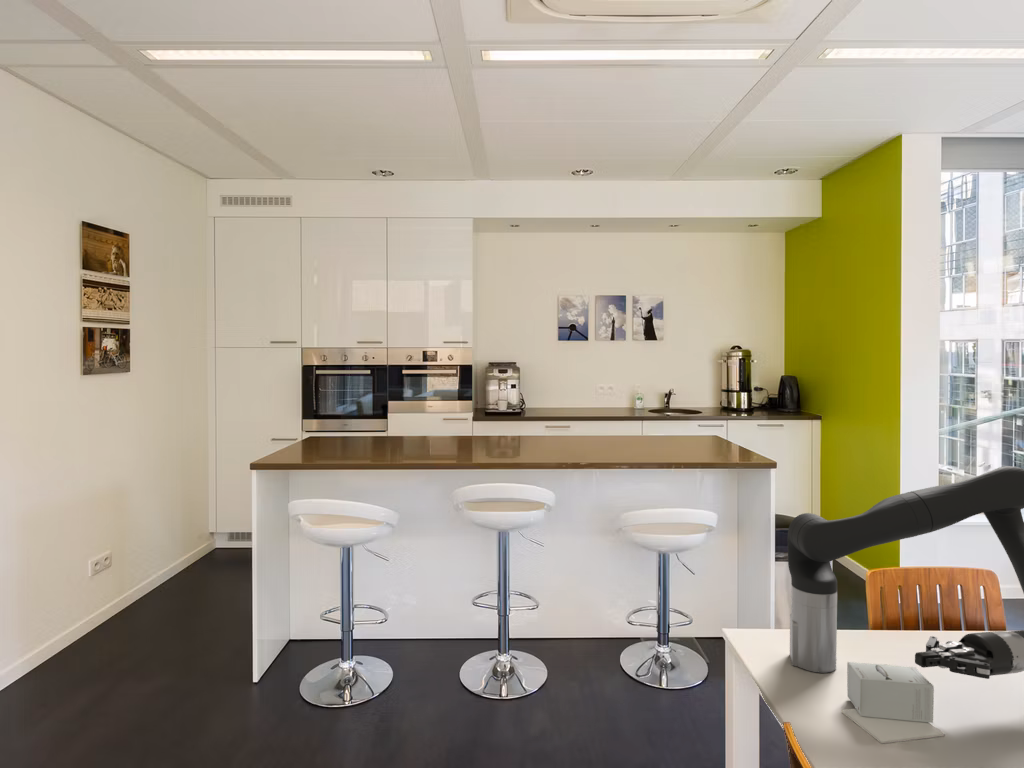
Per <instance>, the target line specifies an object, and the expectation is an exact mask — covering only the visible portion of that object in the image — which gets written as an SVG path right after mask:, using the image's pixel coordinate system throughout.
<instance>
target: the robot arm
mask: <svg viewBox="0 0 1024 768" xmlns="http://www.w3.org/2000/svg"><path fill="white" fill-rule="evenodd" d="M1023 509H1024V468H1023V467H1019V466H1012V465H1007V466H1006V465H1005V466H999V467H998V468H994V469H992V470H989V471H988V472H986V473H982V474H980V475H976V476H975V477H971V478H967V479H964V480H962V481H957V482H953V483H951V482H950V483H946V484H941V485H935V486H930V487H925V488H921V489H917V490H911V491H908V492H904V493H899V494H896V495H892V496H889V497H887V498H884V499H882V500H880V501H879V502H877V503H875V504H874V505H873V506H872V507H870V508H869V509H868V510H866V511H864V512H863V513H861V514H856V515H854V516H849V517H845V518H840V519H839V518H838V519H831V520H829V519H828V520H827V519H825V518H824V517H822V516H820V515H817V514H815V513H809V512H806V513H801V514H799V515H797V516H796V517H794V518H793V519H792V520H791V521H790V524H789V526H788V530H787V563H788V565H787V567H788V571H789V574H790V579H791V589H790V590H791V594H790V597H791V599H790V603H791V604H790V609H791V611H790V614H789V657H790V663H791V666H793V667H794V666H795V667H798V668H800V669H803V670H807V671H808V672H813V673H822V674H823V673H831V672H834V671H835V670H836V668H837V647H838V646H837V644H838V643H837V642H838V641H837V634H838V633H837V632H838V630H837V627H838V621H837V620H838V579H837V577H836V575H835V572H834V571H833V568H832V565H831V562H832V561H835V560H838V559H841V558H844V557H847V556H849V555H852V554H854V553H856V552H859V551H862V550H864V549H865V550H866V549H868V548H871V547H876V546H879V545H884V544H888V543H893V542H896V541H900V540H904V539H910V538H914V537H917V536H922V535H925V534H926V535H927V534H929V533H930V534H931V533H933V532H937V531H939V530H943V529H944V528H947V527H950V526H953V525H955V524H957V523H960V522H962V521H964V520H967V519H969V518H971V517H974V516H976V515H979V514H980V515H981V514H983V515H984V516H985V518H986V519H987V521H988V523H989V524H990V526H991V528H992V530H993V531H994V533H995V535H996V536H997V539H998V540H999V542H1000V543H1001V545H1002V547H1003V549H1004V551H1005V553H1006V554H1007V557H1008V559H1009V560H1010V563H1011V565H1012V567H1013V569H1014V572H1015V574H1016V577H1017V579H1018V582H1019V585H1020V587H1021V590H1022V593H1023V594H1024V517H1023V514H1022V511H1021V510H1023ZM914 664H916V665H918V666H919V667H921V668H924V669H925V668H932V667H933V668H934V667H939V668H940V669H949V672H951V673H955V674H960V675H965V676H971V677H976V678H981V679H986V680H989V679H990V678H991V677H992V676H1000V675H1011V674H1018V673H1022V672H1024V630H1023V629H1021V630H1011V631H1007V630H1006V631H1005V630H997V631H996V630H995V631H984V632H983V631H982V632H972V633H966V634H965V635H964V636H962V637H961V638H960V639H959V641H956V640H955V641H951V640H950V641H949V640H948V641H946V642H941V641H940V640H939V639H938V637H937V636H935V635H934V636H933V635H932V636H929V637H928V640H927V642H926V644H925V651H920V652H919V651H918V652H915V654H914ZM990 676H991V677H990Z"/></svg>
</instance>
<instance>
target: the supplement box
mask: <svg viewBox="0 0 1024 768" xmlns="http://www.w3.org/2000/svg"><path fill="white" fill-rule="evenodd" d="M846 664H847V672H846V673H847V675H846V676H847V677H846V679H847V686H846V687H847V698H848V699H849V701H850V702H851V704H852V705H853V706H854V709H857V711H858V712H859V714H860V716H865V717H876V718H887V719H897V720H908V721H918V722H928V723H930V724H933V723H934V704H935V703H934V702H935V701H934V697H935V696H934V692H935V690H934V688H935V687H934V685H933V684H932V683H931V682H930V681H929V680H928V679H927V678H926V677H925V676H924V675H923V674H922V673H921V672H920V671H919V670H918V669H917V667H916V666H915V667H914V666H907V665H906V666H905V665H896V664H895V665H893V664H882V663H869V662H868V663H867V662H866V663H865V662H855V661H847V663H846Z"/></svg>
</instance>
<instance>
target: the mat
mask: <svg viewBox="0 0 1024 768" xmlns="http://www.w3.org/2000/svg"><path fill="white" fill-rule="evenodd" d="M841 713H842V714H843V715H844V716H846V717H848V719H850V720H851V721H852V722H854V724H856V725H857V726H858V727H860V728H861V729H862V730H863V731H865V732H866V733H868V734H869V735H870V736H871V737H872V738H874V739H875V740H876V741H878V743H880V744H888V743H897V742H905V741H913V740H920V739H928V738H938V737H945V736H946V734H945V732H943V731H942V730H940V729H939V728H937V727H936V726H935V725H933V724H932V723H929V722H918V721H908V720H897V719H887V718H876V717H865V716H860V714H859V712H858V711H857V709H856V708H850V709H849V708H848V709H842V710H841Z"/></svg>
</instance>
